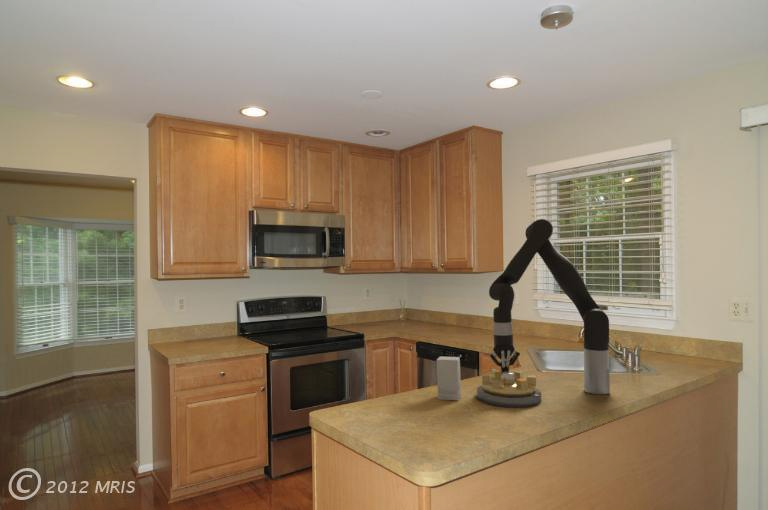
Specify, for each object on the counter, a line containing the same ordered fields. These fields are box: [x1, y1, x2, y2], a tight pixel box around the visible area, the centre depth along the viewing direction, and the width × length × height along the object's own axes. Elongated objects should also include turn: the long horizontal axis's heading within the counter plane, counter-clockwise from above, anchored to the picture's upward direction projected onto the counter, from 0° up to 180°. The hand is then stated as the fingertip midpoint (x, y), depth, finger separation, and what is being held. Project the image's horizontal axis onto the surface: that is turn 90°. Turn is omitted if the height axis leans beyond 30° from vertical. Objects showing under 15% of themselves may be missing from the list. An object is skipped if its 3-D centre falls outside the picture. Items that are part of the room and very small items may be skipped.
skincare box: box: [436, 355, 462, 401], centre depth 193 cm, size 8×7×16 cm
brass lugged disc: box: [481, 369, 537, 397], centre depth 192 cm, size 20×20×6 cm
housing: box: [476, 385, 542, 409], centre depth 192 cm, size 24×24×3 cm
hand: (505, 376), depth 200 cm, fingers closed
